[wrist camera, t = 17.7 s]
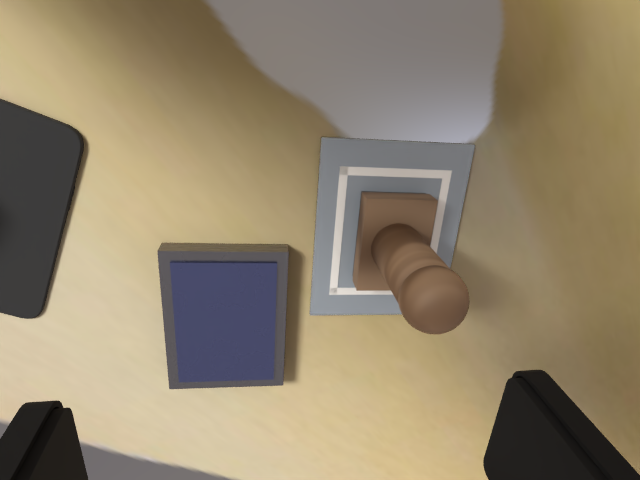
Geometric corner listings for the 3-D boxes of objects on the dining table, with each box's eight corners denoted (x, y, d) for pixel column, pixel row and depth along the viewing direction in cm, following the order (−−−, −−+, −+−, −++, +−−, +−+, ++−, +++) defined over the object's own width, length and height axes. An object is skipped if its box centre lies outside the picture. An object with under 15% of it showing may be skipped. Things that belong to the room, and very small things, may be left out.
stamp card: (321, 136, 29) (321, 137, 29) (473, 144, 31) (475, 144, 30) (309, 313, 34) (310, 315, 34) (439, 311, 36) (441, 314, 36)
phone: (-76, 293, 30) (-47, 82, 25) (-68, 287, 30) (-38, 82, 26) (39, 323, 32) (86, 133, 27) (44, 317, 32) (91, 131, 28)
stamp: (360, 189, 31) (409, 255, 20) (426, 191, 31) (507, 256, 21) (350, 276, 33) (390, 374, 23) (412, 276, 34) (478, 371, 24)
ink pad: (161, 242, 31) (156, 252, 29) (287, 244, 32) (288, 253, 30) (172, 377, 35) (168, 390, 34) (282, 373, 36) (283, 386, 35)
